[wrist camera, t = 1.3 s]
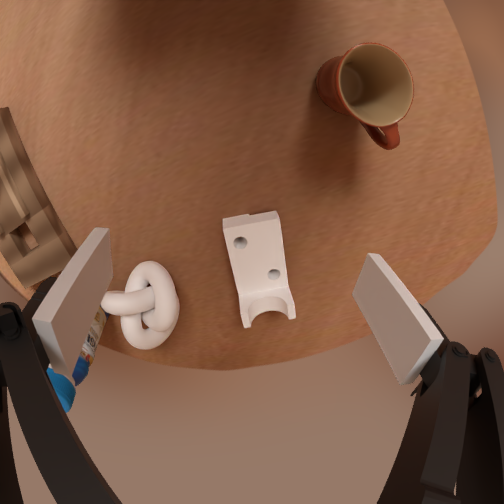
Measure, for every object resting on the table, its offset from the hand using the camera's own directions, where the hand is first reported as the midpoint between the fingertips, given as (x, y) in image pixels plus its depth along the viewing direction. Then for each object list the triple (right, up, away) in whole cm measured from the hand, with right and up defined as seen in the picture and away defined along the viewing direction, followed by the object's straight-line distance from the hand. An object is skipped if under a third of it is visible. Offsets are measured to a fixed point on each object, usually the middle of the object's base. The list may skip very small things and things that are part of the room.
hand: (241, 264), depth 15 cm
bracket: (+1, 0, +29) cm, 29 cm away
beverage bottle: (-27, -8, +30) cm, 41 cm away
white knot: (-15, -5, +30) cm, 34 cm away
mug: (+12, +20, +19) cm, 30 cm away
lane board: (-36, +8, +20) cm, 42 cm away
